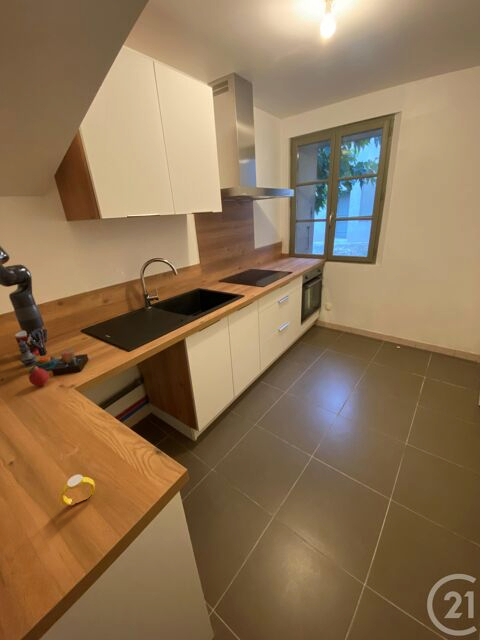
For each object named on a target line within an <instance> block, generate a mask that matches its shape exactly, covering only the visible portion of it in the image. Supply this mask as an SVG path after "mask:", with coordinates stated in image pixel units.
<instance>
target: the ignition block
mask: <svg viewBox="0 0 480 640" xmlns="http://www.w3.org/2000/svg"><path fill="white" fill-rule="evenodd" d="M49 357H50V359H51V360H50V361H49V362H46V363H40V360H37V361H38V362H37V363H36V365H34V366H32V368H31V369H30V370H29V371H28V372H29V375H30V374H31V372H32V371H33V370H34V368H35V367H38V368H39V369H44V370H46V371H47V372H52V368H53V367H54V366H55V365H56V364H57V363H58V362H59V360H60V359H61V358H55V357H54V356H49Z"/></svg>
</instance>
